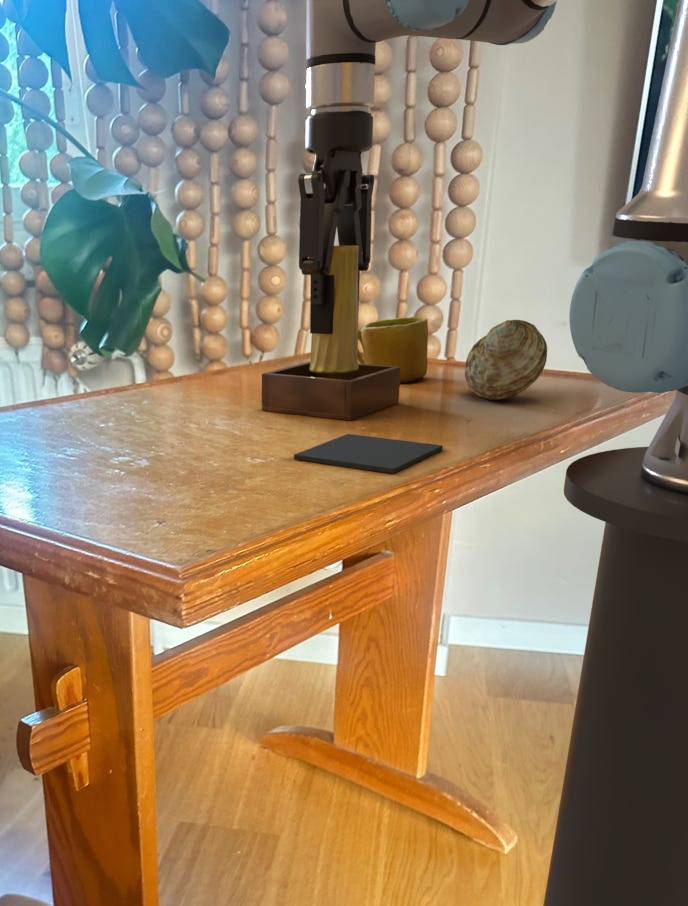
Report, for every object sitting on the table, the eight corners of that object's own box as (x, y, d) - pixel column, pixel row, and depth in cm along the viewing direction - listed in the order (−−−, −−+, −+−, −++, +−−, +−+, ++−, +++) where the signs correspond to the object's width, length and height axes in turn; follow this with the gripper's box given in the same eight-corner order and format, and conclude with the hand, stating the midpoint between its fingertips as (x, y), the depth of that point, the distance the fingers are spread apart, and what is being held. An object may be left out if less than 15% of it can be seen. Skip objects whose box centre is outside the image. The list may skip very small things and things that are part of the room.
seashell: (554, 393, 120) (565, 312, 116) (529, 408, 112) (540, 322, 108) (475, 387, 126) (482, 310, 122) (445, 401, 117) (452, 318, 113)
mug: (448, 361, 134) (432, 295, 129) (422, 394, 128) (405, 326, 123) (374, 372, 142) (356, 310, 137) (346, 404, 136) (326, 340, 131)
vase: (301, 369, 116) (302, 246, 110) (346, 366, 118) (350, 244, 112) (319, 376, 111) (321, 247, 105) (366, 372, 112) (371, 245, 106)
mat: (442, 450, 94) (442, 445, 94) (393, 474, 86) (393, 468, 86) (347, 438, 100) (347, 433, 100) (293, 459, 92) (293, 454, 92)
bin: (398, 403, 117) (400, 366, 115) (350, 420, 108) (351, 381, 106) (313, 394, 124) (314, 360, 122) (261, 410, 115) (261, 373, 113)
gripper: (350, 120, 111) (344, 322, 121) (265, 110, 98) (266, 337, 108) (407, 114, 107) (396, 324, 117) (326, 103, 94) (322, 340, 103)
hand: (334, 330), depth 112 cm, fingers closed on vase, 5 cm apart
